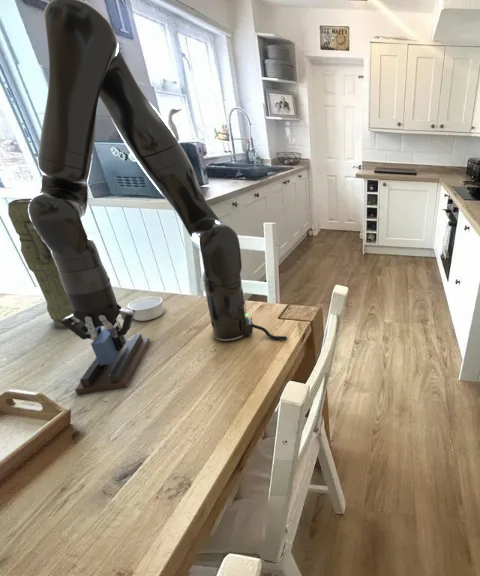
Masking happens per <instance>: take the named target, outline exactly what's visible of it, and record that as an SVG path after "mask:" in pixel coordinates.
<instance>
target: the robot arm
mask: <svg viewBox="0 0 480 576" xmlns="http://www.w3.org/2000/svg"><path fill="white" fill-rule="evenodd" d="M42 17H43V25H44V28H45V34H46V42H47V52H48V70H49V71H48V87H47V88H48V89H47V97H46V105H45V109H44V114H43V115H44V116H43V120H42V126H41V133H40V139H39V148H38V156H37V166H38V169H39V171H40V172H41V175H42V176H41V186H40V192H39V194H37V195H36V196H34V197H32V198H31V199H32V200H31V201H30V203H29V206H28V212H29V216H30V219H31V222H32V224H33V226H34V227H35V229H36V231H37V232H38V234H39V235H40V237H41V238H42V239H43V241H44V242H45V244H46V245H47V246H48V247H49V249H50V250H51V254H52V257H53V259H54V261H55V264H56V266H57V268H58V271H59V275H60V280H61V282H62V285H63V287H64V290H65V292H66V294H67V297H68V299H69V301H70V304H71V306H72V308H73V309H74V312H73V314H72V315H68V316H67V317H66V318H65V319H64V320H63V321H62V324H63V325H65V326H66V327H67V328H66V329H68V330H70V331H71V332H72V333H73V334H75V335H76V336H78V337H79V338H80V339H81V340H87V339H89V340H92V342H93V341H94V340H95V339H96V337H97V336H98V335H99V334H100V332H101V331H102V330H103V329H102V327H103V328H104V327H105V328H106V330H107V331H109V333H110V334H111V336H112V341H113V343H114V346H115V348H116V351H120V350H121V349H122V348H123V346H124V344H125V342H124V340H123V337H122V335H124V336H126V335H127V333H128V331H129V330H130V329H131V326H132V323H133V320H134V315H135V310H134V309H131V310H129V309H124V308H122V307H121V306H122V305H120V304H119V303H118V301H117V298H116V294H115V291H114V289H113V286H112V283H111V277H109V275H108V271H107V269H106V268H105V266H104V263H103V262H102V258H101V256H100V252H99V250H98V248H97V245H96V243H95V242H94V240H92V239H91V237H88V234H87V232H86V230H85V227H84V225H83V224H84V223H83V221H82V220H83V219H84V217H85V215H86V213H87V209H88V201H89V177H90V175H91V168H92V163H93V155H94V149H95V140H96V139H95V138H96V123H97V111H98V110H97V109H98V103H99V99H100V101H101V102H102V104H103V105H104V107H105V109H106V111H107V112H108V115H109V117H110V118H111V120H112V122H113V125H114V126H115V128H116V129H117V131H118V133H119V135H120V137H121V139H122V140H123V142H124V144H125V146H126V147H127V149H128V151H129V152H130V153H131V155H132V157H133V158H134V160H135V161H136V162H137V164H138V165H139V166H140V168H141V169H142V171H143V172H144V173H145V175H146V176H147V177H148V179H149V180H150V181H151V183H152V184H153V185H154V187H155V188H156V189H157V190H158V191H159V193H160V194H161V195H162V196H163V198H164V199H165V200H166V202H168V204H170V206H171V207H172V208H173V209H174V211H175V212H176V214H177V216H178V217H179V219H180V221H181V223H182V224H183V226H184V228H185V229H186V232H187V234H188V236H189V237H190V240H191V241H192V243H193V245H194V246H195V248H197V250H199V251H200V254H201V259H202V265H203V266H202V267H203V270H202V271H201V277H202V282H203V287H204V293H205V297H206V303H207V307H208V312H209V317H210V318H209V319H210V323H211V328H212V334H213V335H212V336H213V338H214V339H215V340H216V341H219V342H234V341H238V340H240V339H242V338H246V337H248V336H249V334H253V330H254V329H256V330H259V331H262V332H264V333H265V335H266V336H267V337H268V338H270V339H272V340H283V341H284V340H285V341H286V340H288V336H285V335H273V334H271V333H270V332H269V331H268V329H267V328H265V327H263V326H261V325H258V324H255V323H254V322H253V317H248V310H247V304H246V298H245V296H244V290H243V282H242V275H241V272H242V267H243V264H242V253H241V245H240V239H239V236H238V234H237V232H236V231H235V229H233V228H232V227H231V226H229V225H228V224H226V223H224V222H223V221H222V220H221V219H220V217H218V215H217V214H216V213H215V212H214V209H212V207H211V205H210V204H209V203H208V202H207V199H206V198H205V196H204V194H203V193H202V189H201V187H200V184H199V180H198V177H197V174H196V172H195V169H194V166H193V164H192V162H191V161H190V159H189V157H188V155H187V153H186V151H185V150H184V148H183V147H182V145H181V143H180V141H179V140H178V138H177V137H176V135H175V134H174V132H173V131H172V130H171V128H170V126H169V125H168V124H167V123H166V121H165V120H164V119H163V117H162V116H161V115H160V113H159V112H158V111H157V109H156V108H155V107H154V106H153V104H152V103H151V102H150V101H149V99H148V98H147V97H146V95H145V94H144V92H143V91H142V89H141V88H140V86H139V84H138V82H137V81H136V79H135V77H134V75H133V73H132V72H131V70H130V68H129V66H128V63H127V61H126V60H125V58H124V56H123V54H122V51H121V50H120V47H119V43H118V42H119V41H118V38H117V35H116V32H115V30H114V28H113V27H112V24H111V23H110V22H109V20H108V19H107V18H106V16H104V14H103V13H102V12H100V10H99V9H97V8H96V7H95V6H93V5H92V4H91V3H89V2H87V1H84V0H50V1H49V2H48V3H47V5H46V6H45V7H44V10H43V16H42ZM119 315H120V316H121V320H123V323H122V326H121V328H120V326H119V323H120V321H119V319H118V317H119ZM80 321H82V322H84V323H85V324H83V323H82V322H80Z"/></svg>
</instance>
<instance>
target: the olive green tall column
mask: <svg viewBox="0 0 480 576" xmlns="http://www.w3.org/2000/svg"><path fill="white" fill-rule="evenodd" d="M32 199H33V198H19V199H14V200H12V201H9V202H8V204H7V205H8V206H7V207H8V208H7V209H8V210H7V213H8V217H9V219H10V221H11V224H12V226H13V228H14V231H15V233H16V234H17V235H18V239H19V242H20V252H21V255H22V257H23V258H24V260H25V263H26V265H27V267H28V270H30V271H31V272H32V273H33V275H34V277H35V279H36V281H37V283H38V286H39V288H40V291H41V292H42V295H43V297H44V299H45V301H46V302H45V303H46V309H47V313H48V315H49V317H50V319H51V320H52V321H53V324H54V326H55V327H56V328H59V329H68V328H67V327H66V326H65V325H63V324H62V321H63V320H64V319H65V318H66V317H67V316H68V315H72V314H73V312H74V309H73V308H72V306H71V304H70V301H69V299H68V297H67V294H66V292H65V290H64V287H63V285H62V282H61V280H60V275H59V271H58V268H57V266H56V264H55V261H54V259H53V257H52V254H51V250H50V249H49V247H48V246H47V245H46V244H45V242H44V241H43V239H42V238H41V237H40V235H39V234H38V232H37V231H36V229H35V227H34V226H33V224H32V222H31V219H30V216H29V212H28V206H29V203H30V201H31V200H32ZM80 322H82V321H80ZM82 323H83V324H84V325H86V324H85V323H84V322H82Z"/></svg>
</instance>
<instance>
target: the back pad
mask: <svg viewBox="0 0 480 576" xmlns="http://www.w3.org/2000/svg"><path fill="white" fill-rule="evenodd" d="M119 326H120V328H122V326H121V323H120V322H119ZM101 330H102V331H101V332H100V334H99V335H98V336H97V337H96V339H95V340H94V341H93V340H92V342H91V343H90V346H91V348H92V350H93V353H94V355H95V358H96V357H97V360H98V362H99V365H108V364H112V363H113V362H114V360H115V359H116V357H117V356H118V354H119V352H120V351H121V350H120V351H116V348H115V346H114V343H113V341H112V336H111V334H110V333H109V331H107V330H106V328H105V327H104V326H103V328H102V329H101ZM122 337H123V340H124V342H125V343H126V340H127V339H126V336H125V335H122ZM124 345H125V344H124Z"/></svg>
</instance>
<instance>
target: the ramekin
mask: <svg viewBox="0 0 480 576" xmlns="http://www.w3.org/2000/svg"><path fill="white" fill-rule="evenodd" d="M163 301H164V300H163V298H162V297H160V296H151V295H150V296H143V297H139V298H136V299H133V300H132V301H130V302H129V303H128V304H127V306H126V308H127V310H128V311H129V310H131V309H134V310H135V315H134V318H133V320H135V321H140V322H144V321H145V322H146V321H150V320H154V319H157V318H159V317H160V316H161V315H163V313H164V304H163Z"/></svg>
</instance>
